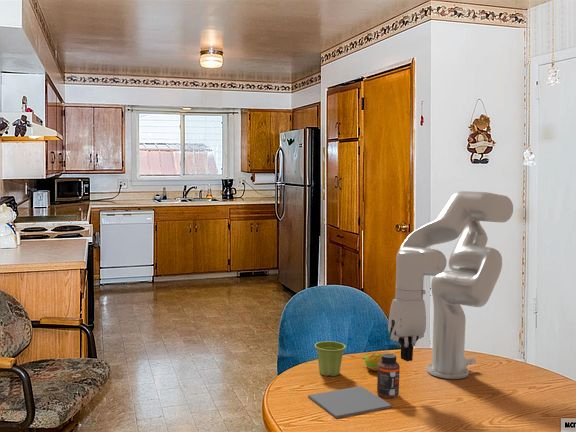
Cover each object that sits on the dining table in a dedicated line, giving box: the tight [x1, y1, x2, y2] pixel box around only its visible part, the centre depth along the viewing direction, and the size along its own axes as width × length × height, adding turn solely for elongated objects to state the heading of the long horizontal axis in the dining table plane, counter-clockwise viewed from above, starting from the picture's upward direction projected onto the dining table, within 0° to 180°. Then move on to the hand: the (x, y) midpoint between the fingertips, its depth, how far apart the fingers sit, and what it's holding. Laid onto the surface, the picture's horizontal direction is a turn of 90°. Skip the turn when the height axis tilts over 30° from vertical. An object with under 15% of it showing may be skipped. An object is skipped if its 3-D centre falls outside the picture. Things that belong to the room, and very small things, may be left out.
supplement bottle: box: [376, 353, 400, 399], centre depth 161 cm, size 6×6×11 cm
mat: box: [307, 385, 393, 419], centre depth 156 cm, size 17×15×1 cm
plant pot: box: [314, 340, 347, 377], centre depth 179 cm, size 9×9×9 cm
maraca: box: [362, 352, 382, 372], centre depth 183 cm, size 7×10×5 cm
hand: (406, 359), depth 163 cm, fingers closed
